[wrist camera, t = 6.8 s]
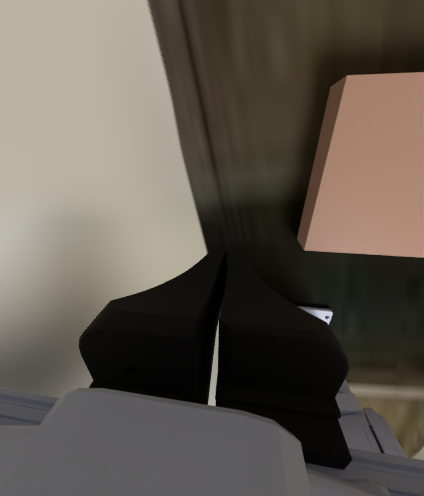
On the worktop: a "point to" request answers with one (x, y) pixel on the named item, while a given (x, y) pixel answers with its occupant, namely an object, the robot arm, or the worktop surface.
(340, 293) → the worktop surface
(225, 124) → the worktop surface
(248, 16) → the worktop surface
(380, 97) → the book
